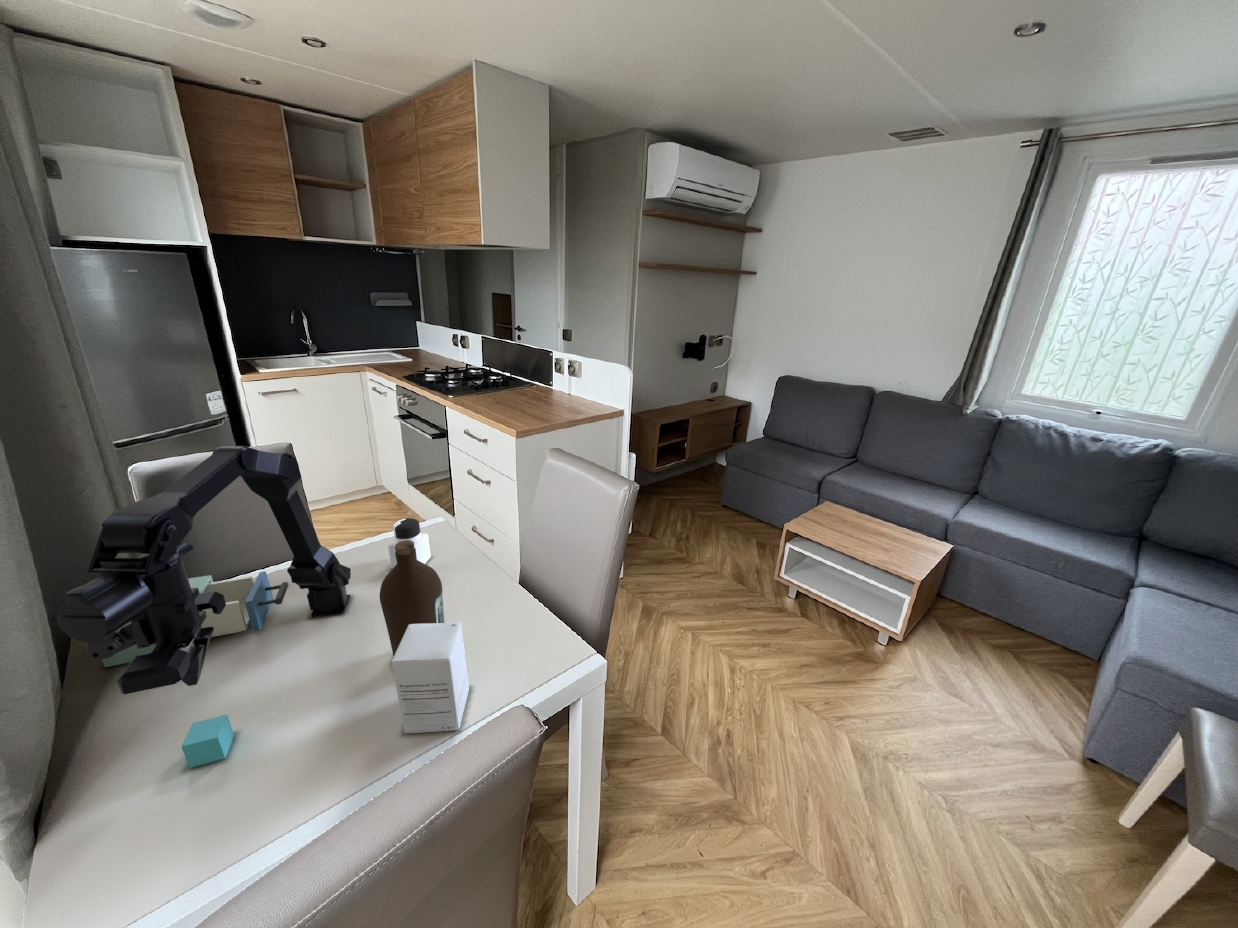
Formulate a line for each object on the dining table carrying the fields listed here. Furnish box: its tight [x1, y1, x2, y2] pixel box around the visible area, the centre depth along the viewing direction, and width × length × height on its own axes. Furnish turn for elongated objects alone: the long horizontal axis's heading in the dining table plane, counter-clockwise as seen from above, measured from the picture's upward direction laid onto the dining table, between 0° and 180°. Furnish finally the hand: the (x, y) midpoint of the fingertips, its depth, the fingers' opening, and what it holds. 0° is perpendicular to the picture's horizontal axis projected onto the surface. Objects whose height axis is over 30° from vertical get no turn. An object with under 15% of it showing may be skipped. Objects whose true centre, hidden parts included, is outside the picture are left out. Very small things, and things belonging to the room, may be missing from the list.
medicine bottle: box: [387, 517, 432, 570], centre depth 125 cm, size 7×7×12 cm
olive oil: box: [379, 540, 445, 658], centre depth 91 cm, size 11×11×25 cm
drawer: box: [201, 570, 290, 638], centre depth 102 cm, size 18×11×7 cm, turn 112°
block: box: [181, 714, 235, 769], centre depth 75 cm, size 4×4×4 cm
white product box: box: [391, 621, 470, 734], centre depth 81 cm, size 9×9×15 cm
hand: (193, 683), depth 74 cm, fingers closed
